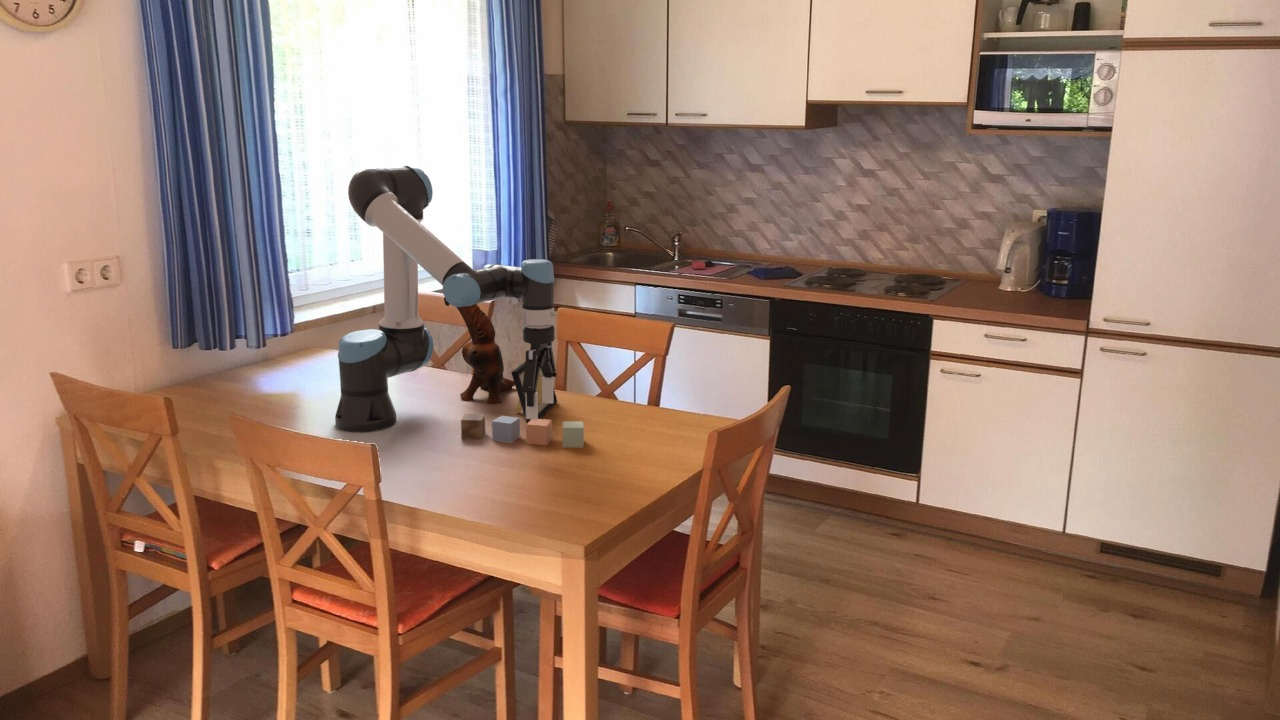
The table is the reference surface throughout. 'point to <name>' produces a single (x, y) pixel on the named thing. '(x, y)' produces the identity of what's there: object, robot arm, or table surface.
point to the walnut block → (473, 426)
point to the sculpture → (482, 356)
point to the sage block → (573, 434)
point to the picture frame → (542, 407)
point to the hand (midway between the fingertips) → (540, 410)
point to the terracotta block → (539, 431)
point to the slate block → (506, 429)
